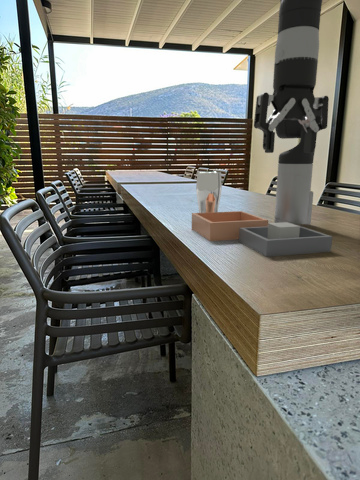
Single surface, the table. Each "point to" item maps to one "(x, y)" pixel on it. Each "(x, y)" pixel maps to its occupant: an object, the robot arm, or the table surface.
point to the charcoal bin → (285, 242)
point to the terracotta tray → (224, 224)
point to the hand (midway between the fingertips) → (288, 152)
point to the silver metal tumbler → (208, 191)
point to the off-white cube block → (283, 230)
